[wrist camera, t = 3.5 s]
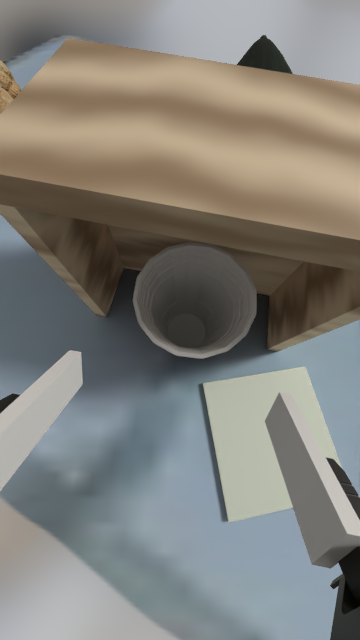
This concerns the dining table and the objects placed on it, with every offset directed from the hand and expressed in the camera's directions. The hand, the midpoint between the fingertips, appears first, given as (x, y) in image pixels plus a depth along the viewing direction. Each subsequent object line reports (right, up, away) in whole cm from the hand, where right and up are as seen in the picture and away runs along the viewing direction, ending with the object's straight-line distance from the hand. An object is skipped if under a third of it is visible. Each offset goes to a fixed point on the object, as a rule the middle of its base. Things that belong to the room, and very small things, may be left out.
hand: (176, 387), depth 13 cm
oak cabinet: (+3, +9, +17) cm, 20 cm away
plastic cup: (+1, +3, +15) cm, 15 cm away
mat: (+11, -9, +11) cm, 18 cm away
